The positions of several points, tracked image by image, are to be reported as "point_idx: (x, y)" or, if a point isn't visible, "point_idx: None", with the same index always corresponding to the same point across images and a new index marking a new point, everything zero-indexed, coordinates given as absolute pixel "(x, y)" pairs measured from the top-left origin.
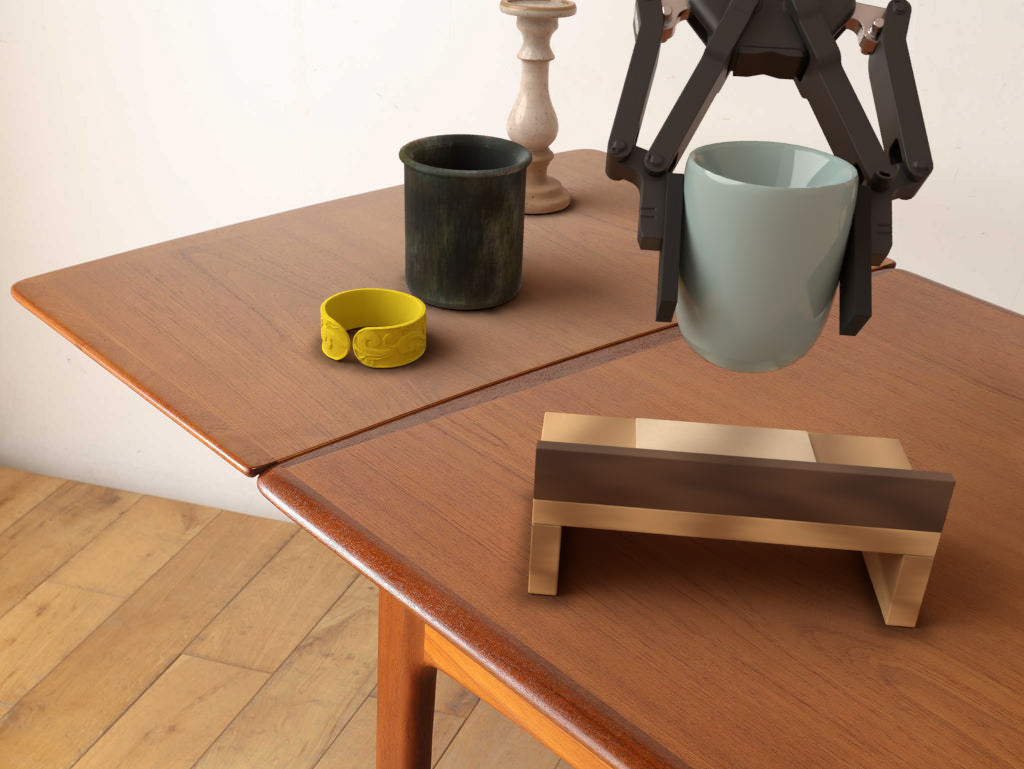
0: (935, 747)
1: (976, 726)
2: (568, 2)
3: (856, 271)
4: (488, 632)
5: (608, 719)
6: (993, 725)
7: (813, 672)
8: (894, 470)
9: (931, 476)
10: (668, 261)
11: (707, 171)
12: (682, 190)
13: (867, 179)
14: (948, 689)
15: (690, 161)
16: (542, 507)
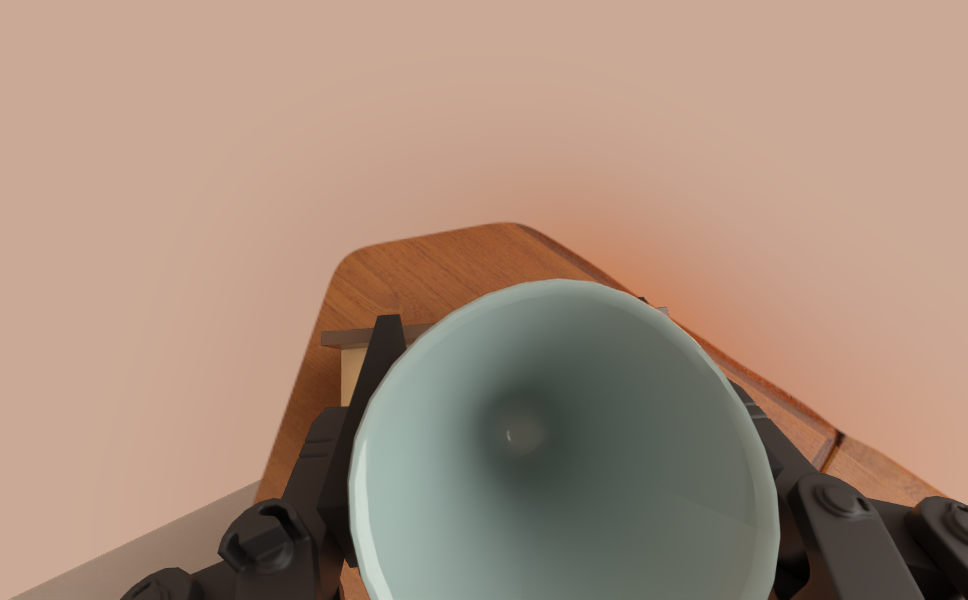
0: (380, 251)
1: (354, 269)
2: None
3: (387, 354)
4: (624, 289)
5: (547, 238)
6: (344, 272)
7: (437, 293)
8: (370, 338)
9: (340, 334)
10: None
11: (712, 361)
12: None
13: (315, 550)
14: (361, 295)
15: (763, 448)
16: None
